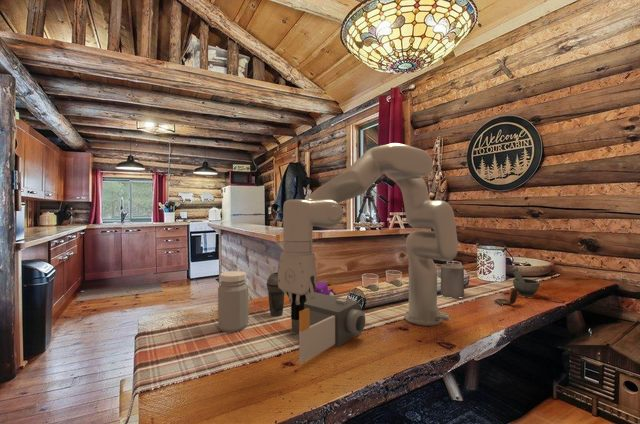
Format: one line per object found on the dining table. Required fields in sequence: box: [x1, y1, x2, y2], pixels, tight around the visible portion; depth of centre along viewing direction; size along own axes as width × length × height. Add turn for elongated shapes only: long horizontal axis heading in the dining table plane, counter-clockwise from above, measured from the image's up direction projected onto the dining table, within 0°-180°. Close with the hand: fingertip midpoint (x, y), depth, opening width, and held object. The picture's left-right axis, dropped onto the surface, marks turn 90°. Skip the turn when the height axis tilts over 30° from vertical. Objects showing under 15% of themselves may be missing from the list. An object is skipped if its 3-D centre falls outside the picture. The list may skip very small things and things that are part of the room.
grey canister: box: [440, 262, 465, 298], centre depth 136 cm, size 10×10×15 cm
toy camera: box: [301, 281, 335, 297], centre depth 121 cm, size 11×14×10 cm
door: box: [298, 308, 335, 365], centre depth 80 cm, size 14×1×13 cm, turn 141°
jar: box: [217, 270, 249, 333], centre depth 100 cm, size 10×10×18 cm
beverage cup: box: [266, 260, 285, 318], centre depth 112 cm, size 7×7×20 cm
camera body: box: [291, 292, 366, 348], centre depth 95 cm, size 22×12×11 cm, turn 53°
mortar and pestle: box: [511, 267, 540, 298], centre depth 136 cm, size 11×9×12 cm
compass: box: [494, 287, 518, 306], centre depth 124 cm, size 8×8×7 cm
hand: (297, 318), depth 78 cm, fingers closed
